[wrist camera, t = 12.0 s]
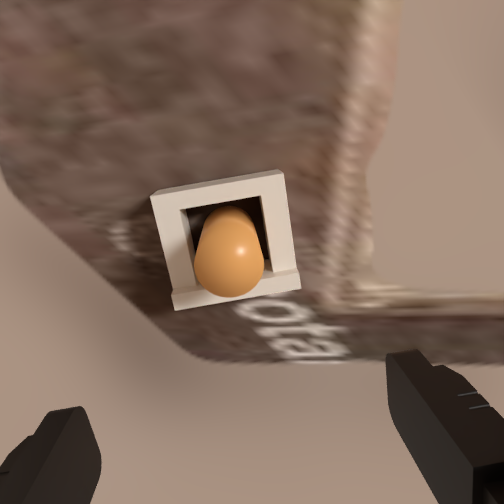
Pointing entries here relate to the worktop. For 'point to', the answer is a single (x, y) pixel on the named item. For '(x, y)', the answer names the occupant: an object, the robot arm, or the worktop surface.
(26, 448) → the robot arm
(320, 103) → the worktop surface
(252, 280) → the orange capsule
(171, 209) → the housing
